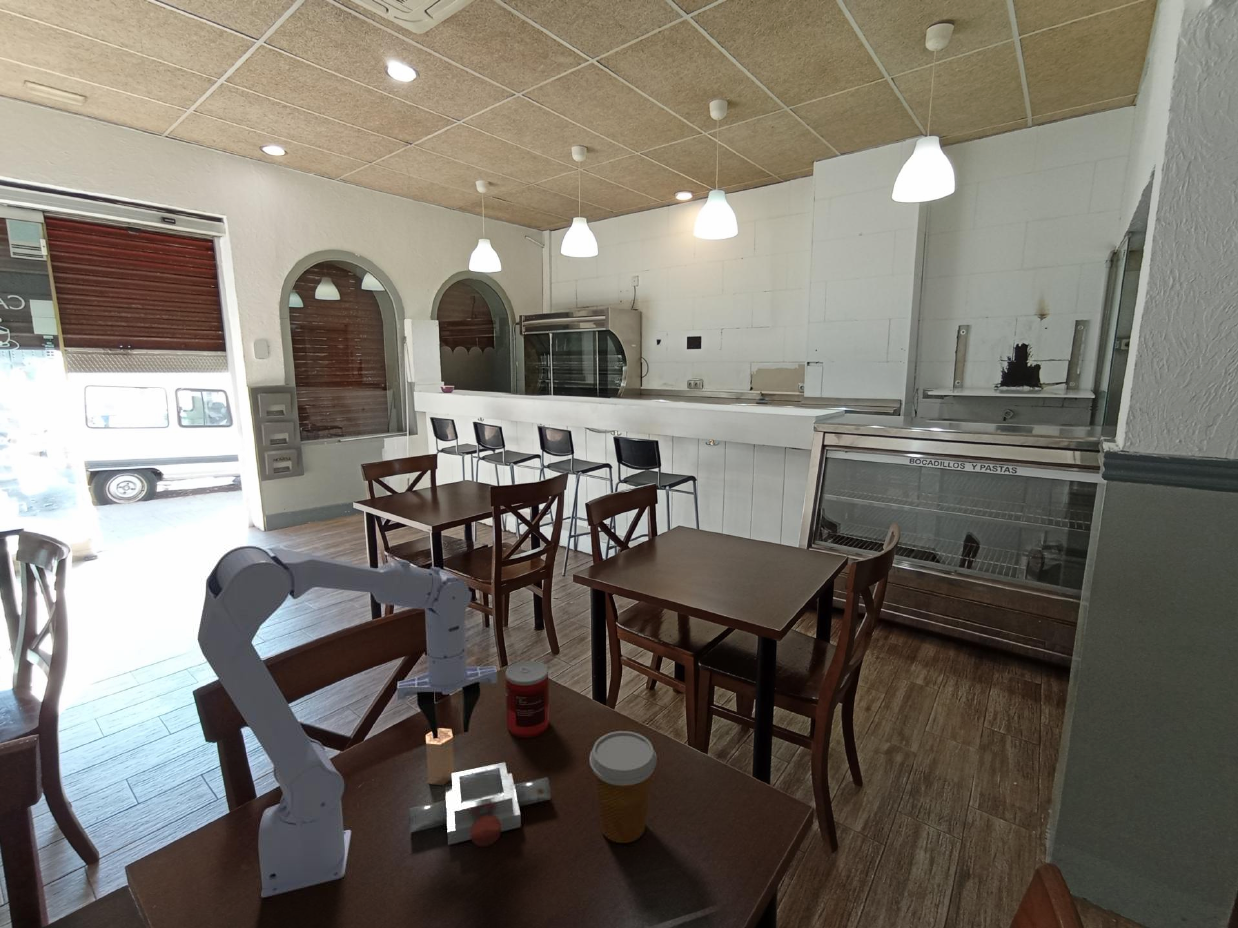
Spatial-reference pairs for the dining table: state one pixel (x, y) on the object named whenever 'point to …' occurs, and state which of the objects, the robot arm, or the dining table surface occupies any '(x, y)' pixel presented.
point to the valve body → (480, 805)
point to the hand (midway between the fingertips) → (450, 731)
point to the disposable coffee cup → (623, 783)
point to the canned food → (527, 698)
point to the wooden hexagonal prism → (440, 757)
